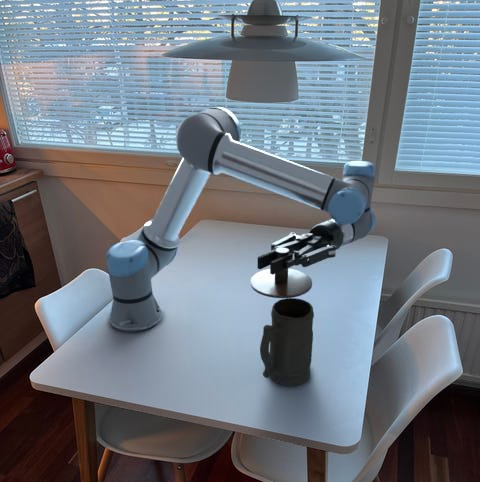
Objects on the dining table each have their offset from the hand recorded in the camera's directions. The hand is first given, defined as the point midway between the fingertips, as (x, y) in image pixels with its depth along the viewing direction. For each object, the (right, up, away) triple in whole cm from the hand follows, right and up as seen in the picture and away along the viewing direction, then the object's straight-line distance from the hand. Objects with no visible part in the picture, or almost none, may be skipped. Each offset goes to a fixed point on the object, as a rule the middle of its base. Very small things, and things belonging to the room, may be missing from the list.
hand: (265, 265), depth 101 cm
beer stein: (+6, -26, +19) cm, 33 cm away
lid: (+4, -3, +7) cm, 8 cm away
